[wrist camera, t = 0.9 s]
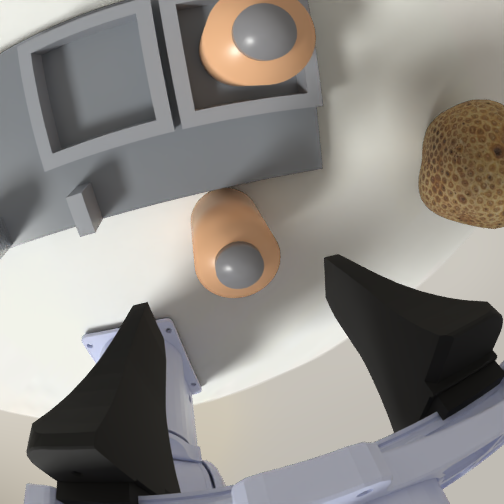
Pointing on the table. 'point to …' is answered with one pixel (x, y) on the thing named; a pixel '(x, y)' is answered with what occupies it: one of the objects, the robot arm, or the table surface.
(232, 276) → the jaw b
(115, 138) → the housing
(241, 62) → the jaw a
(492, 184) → the natural sponge
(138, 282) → the table surface
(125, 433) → the robot arm
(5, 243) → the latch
